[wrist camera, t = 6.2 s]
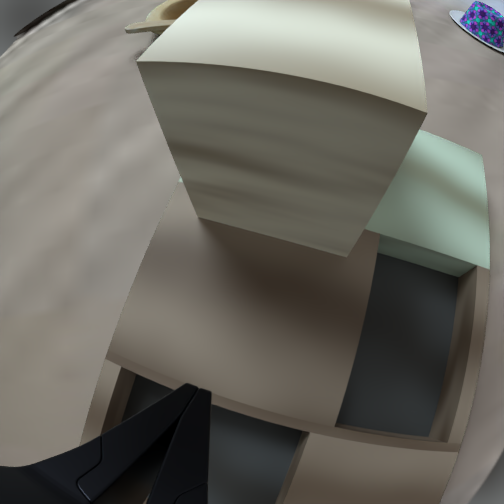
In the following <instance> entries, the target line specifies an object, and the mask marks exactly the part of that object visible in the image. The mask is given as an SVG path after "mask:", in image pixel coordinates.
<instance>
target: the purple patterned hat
mask: <svg viewBox="0 0 504 504" xmlns="http://www.w3.org/2000/svg"><path fill="white" fill-rule="evenodd" d="M450 15H451V17H452V18H453V20H454V21H455V22H456V23H457V24H459V25H460V26H461V27H462V28H463V29H465V30H466V31H467V32H469V33H470V32H471V33H470V34H471V35H473V34H474V35H473V36H474V37H476V36H478V37H479V38H480V39H479V38H478V37H476V38H477V39H479V40H480V41H482V40H483V41H482V42H484V43H485V44H487V45H489V46H491V47H493V48H495V49H497V50H499V51H502V52H504V17H503V16H502V15H501V14H500V13H499V12H497V11H496V10H495V9H493V8H492V7H490V6H488V5H486V4H484V3H481V2H479V1H475V2H474V3H473V4H472V5H471V6H470V8H469V9H468V10H467V11H466V13H465V12H462V11H457V10H452V11H450ZM460 18H461V20H460V21H459V19H460ZM462 25H464V26H465V27H466V28H467V29H466V28H465V27H463V26H462ZM475 35H476V36H475ZM490 44H492V45H494V46H495V47H494V46H492V45H490ZM500 46H502V47H503V48H500ZM497 47H498V48H497Z"/></svg>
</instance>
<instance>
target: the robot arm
mask: <svg viewBox="0 0 504 504" xmlns="http://www.w3.org/2000/svg"><path fill="white" fill-rule="evenodd" d="M211 403H212V392H211V391H209V390H207V389H204V388H199V387H198V386H196V385H193V384H190V383H185V384H183V385H182V386H180V387H179V388H177V389H175V390H174V391H172V392H171V393H169V394H168V395H166V396H164V397H163V398H161V399H160V400H158V401H157V402H155V403H153V404H152V405H150V406H148V407H147V408H145V409H144V410H142V411H140V412H139V413H137V414H135V415H134V416H132V417H130V418H129V419H127V420H125V421H124V422H122V423H120V424H119V425H117V426H115V427H113V428H112V429H110V430H108V431H107V432H105V433H103V434H102V435H101V436H100V435H99V436H98V437H96V438H94V439H92V440H91V441H89V442H87V443H85V444H83V445H81V446H79V447H77V448H74V449H72V450H70V451H67V452H65V453H62V454H59V455H57V456H54V457H51V458H48V459H46V460H43V461H40V462H37V463H34V464H31V465H27V466H21V467H7V466H0V504H143V503H144V501H145V500H146V498H147V497H148V495H149V497H148V499H147V502H146V504H208V473H209V446H210V424H211Z"/></svg>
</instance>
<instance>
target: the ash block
mask: <svg viewBox="0 0 504 504" xmlns="http://www.w3.org/2000/svg"><path fill="white" fill-rule="evenodd" d="M136 63H137V65H138V68H139V71H140V74H141V76H142V79H143V82H144V84H145V87H146V90H147V92H148V95H149V97H150V100H151V103H152V105H153V108H154V111H155V113H156V116H157V118H158V121H159V123H160V126H161V129H162V131H163V134H164V136H165V139H166V141H167V144H168V146H169V149H170V151H171V154H172V156H173V159H174V161H175V164H176V166H177V169H178V171H179V174H180V176H181V178H182V181H183V183H184V186H185V188H186V191H187V193H188V195H189V198H190V200H191V203H192V205H193V207H194V210H195V212H196V215H197V217H200V218H204V219H208V220H211V221H215V222H219V223H223V224H226V225H230V226H234V227H238V228H242V229H245V230H249V231H253V232H256V233H260V234H264V235H268V236H271V237H275V238H279V239H282V240H286V241H290V242H293V243H297V244H300V245H304V246H308V247H311V248H315V249H318V250H322V251H326V252H329V253H333V254H336V255H340V256H343V257H347V256H348V255H349V253H350V251H351V250H352V248H353V247H354V245H355V243H356V242H357V240H358V238H359V237H360V235H361V234H362V232H363V230H364V229H365V227H366V225H367V224H368V222H369V220H370V218H371V217H372V215H373V213H374V212H375V210H376V208H377V207H378V205H379V203H380V201H381V200H382V198H383V196H384V194H385V193H386V191H387V189H388V187H389V185H390V184H391V182H392V180H393V178H394V176H395V175H396V173H397V171H398V169H399V167H400V165H401V164H402V162H403V160H404V158H405V156H406V154H407V152H408V150H409V149H410V147H411V145H412V143H413V141H414V139H415V137H416V135H417V133H418V131H419V129H420V127H421V125H422V123H423V121H424V119H425V117H426V115H427V102H426V92H425V83H424V75H423V68H422V61H421V55H420V49H419V43H418V38H417V33H416V28H415V23H414V18H413V14H412V9H411V5H410V1H409V0H198V1H197V2H196V3H195V4H193V5H192V6H191V7H190V8H189V9H188V10H187V11H186V12H184V13H183V14H182V15H181V16H180V17H179V18H178V19H177V20H176V21H175V22H174V23H173V24H172V25H171V26H170V27H168V28H167V29H166V30H165V31H164V32H163V33H162V34H161V35H160V36H159V37H158V38H157V39H156V40H155V41H154V43H153V44H152V45H151V46H150V47H149V48H148V49H147V50H146V51H145V52H144V53H143V54H142V55H141V56H140V57H139V58H138V60H137V61H136Z"/></svg>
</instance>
